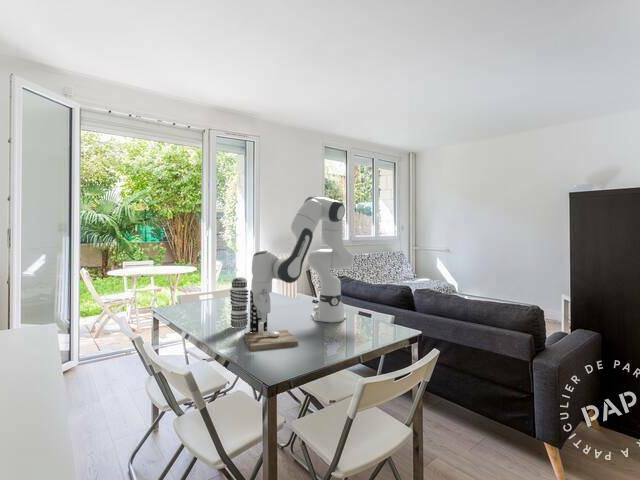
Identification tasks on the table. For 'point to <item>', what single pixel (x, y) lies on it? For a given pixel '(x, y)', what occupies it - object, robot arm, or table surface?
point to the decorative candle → (239, 303)
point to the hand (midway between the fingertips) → (261, 319)
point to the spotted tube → (255, 316)
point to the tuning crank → (260, 333)
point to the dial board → (270, 340)
